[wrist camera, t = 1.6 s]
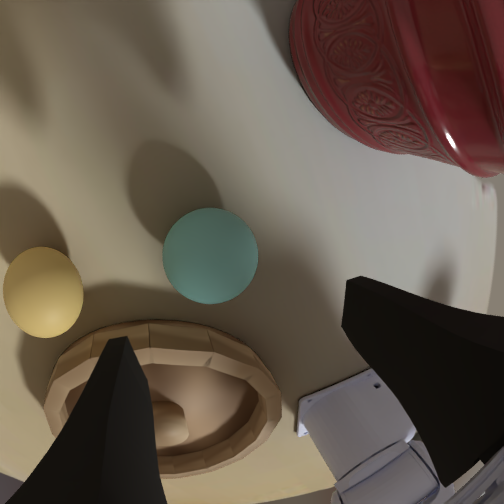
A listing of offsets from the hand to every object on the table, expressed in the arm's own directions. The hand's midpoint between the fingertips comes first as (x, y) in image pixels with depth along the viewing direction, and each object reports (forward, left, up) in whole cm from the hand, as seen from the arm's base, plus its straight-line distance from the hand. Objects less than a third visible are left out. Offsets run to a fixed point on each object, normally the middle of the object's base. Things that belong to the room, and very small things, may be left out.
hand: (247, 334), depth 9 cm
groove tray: (+6, +14, -8) cm, 17 cm away
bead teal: (0, 0, -8) cm, 8 cm away
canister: (-12, -10, -9) cm, 18 cm away
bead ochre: (+9, 0, -8) cm, 12 cm away
